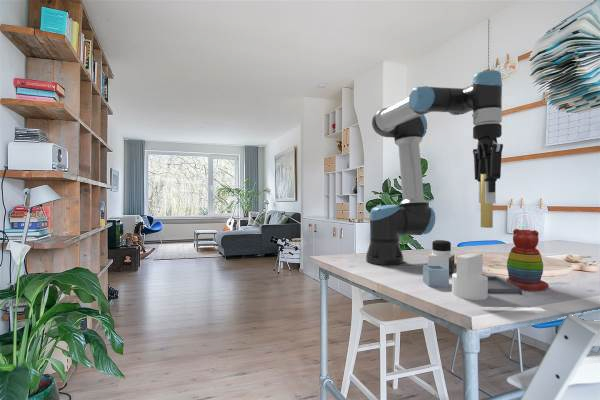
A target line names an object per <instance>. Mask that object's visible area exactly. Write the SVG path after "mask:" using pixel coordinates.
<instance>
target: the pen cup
mask: <svg viewBox="0 0 600 400" xmlns="http://www.w3.org/2000/svg"><path fill="white" fill-rule="evenodd" d="M422 282H423V283H424V284H426V286H427V287H435V288H438V287H439V288H441V287H442V288H444V287H445V288H448V287H450V275H449V269H447V268H446V267H444V266H443V265H428V264H423V265H422Z"/></svg>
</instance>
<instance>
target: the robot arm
mask: <svg viewBox="0 0 600 400" xmlns="http://www.w3.org/2000/svg"><path fill="white" fill-rule="evenodd" d="M502 79H503V78H502V73H501V72H500V71H499V70H494V69H491V70H483V71H479V72H477V73H475V74H474V76H473V78H472V84H471V85H470V86H467V87H463V88H459V87H458V88H457V87H438V86H426V85H425V86H416V87H414V88H413V89H412V90H411V92H410V93H409V96H408V97H407V98H405V99H404V100H401V101H399V102H397V103H396V104H394V105H392V106H390V107H383V108H381V109H379V110H378V111H376V112H375V113H374V114H373V116H372V120H371V126H372V128H373V131H374V132H375V133H376V134H377V135H379V136H381V137H383V138H393V140H394V144H395V145H396V146H398V157H399V168H400V169H399V171H400V181H401V193H402V194H401V196H402V201H401V202H400V203H399V204H385V205H378V206H374V207H372V208H371V209H370V214H369V215H370V217H369V226H370V227H369V231H370V233H369V238H370V239H369V241H370V242H369V245H368V248H367V252H366V255H365V261H366V262H367V263H370V264H372V265H373V264H374V265H383V266H392V265H393V266H394V265H395V266H396V265H401V264H403V263H404V254H403V252H402V249H401V246H400V237H401V236H422V235H427V234H430V232H432V230H433V228H434V227H435V224H436V213H435V210H434V209H433V208H432V207H431V206H429V202H428V201H427V200H426V199H425V198H424V197H425V196H424V185H423V175H422V173H423V172H422V163H421V162H422V161H421V149H420V143H421V142H422V141H423V137H425V135H426V134H427V132H428V131H427V130H428V121H427V118H426V116H425V115H426V114H429V113H433V112H435V113H438V112H439V113H448V114H450V115H452V116H459V115H464V114H467V113H469V112H472V115H471V116H472V123H473V128H472V138H473V139H474V140H478V141H477V148H474V149H473V150H472V153H473V164H474V165H473V167H474V169H473V170H474V180H476V181H477V182H478V204H481V174H486V178H487V179H484V181H488V182H485V204H493V205H494V204H496V190H497V189H496V187H497V185H496V184H497V183H496V182H497V181H498V179H499V180H500V179H501V177H502V175H501V172H502V171H501V170H502V157H503V156H502V153H503V148H504V144H503V143H498V139H499V138H501V137H502V127H503V126H502V124H501V123H502V120H503V117H502V116H503V113H502V111H503V110H502V109H503V107H502V103H503V101H502V98H503V96H502V95H503V92H502V91H503V90H502V89H503V82H502Z"/></svg>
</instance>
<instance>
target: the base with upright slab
mask: <svg viewBox="0 0 600 400" xmlns="http://www.w3.org/2000/svg"><path fill="white" fill-rule="evenodd" d="M483 257H484V255H483V253H479V252H469V253H465V254H461V255H456V272H453V273H452V274H451V294H452V295H453V296H455V297H458V298H460V299H464V300H471V301H481V300H486V299H488V295H489V293H488V278H487V277H486V276H487V275H483V267H484V266H483V261H484V260H483Z"/></svg>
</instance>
